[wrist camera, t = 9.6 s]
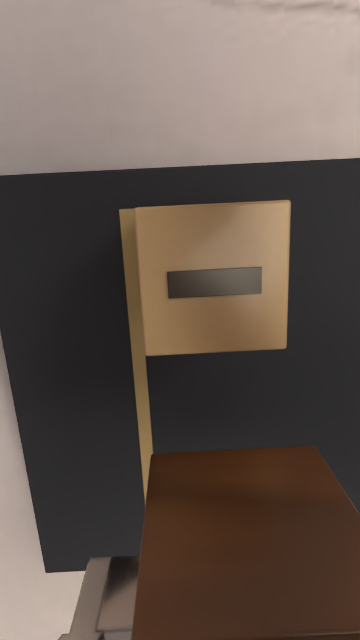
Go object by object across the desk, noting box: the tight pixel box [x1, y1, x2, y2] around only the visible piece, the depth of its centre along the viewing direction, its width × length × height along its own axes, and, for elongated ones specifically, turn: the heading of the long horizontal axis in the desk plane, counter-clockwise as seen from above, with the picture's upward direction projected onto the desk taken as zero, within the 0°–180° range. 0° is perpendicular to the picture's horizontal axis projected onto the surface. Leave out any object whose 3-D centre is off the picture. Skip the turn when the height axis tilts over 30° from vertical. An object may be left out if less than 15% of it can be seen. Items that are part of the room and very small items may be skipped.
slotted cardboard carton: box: [134, 200, 291, 356], centre depth 12 cm, size 4×4×5 cm
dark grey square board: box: [0, 158, 360, 573], centre depth 16 cm, size 20×20×1 cm
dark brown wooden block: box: [131, 445, 360, 640], centre depth 8 cm, size 4×4×5 cm
